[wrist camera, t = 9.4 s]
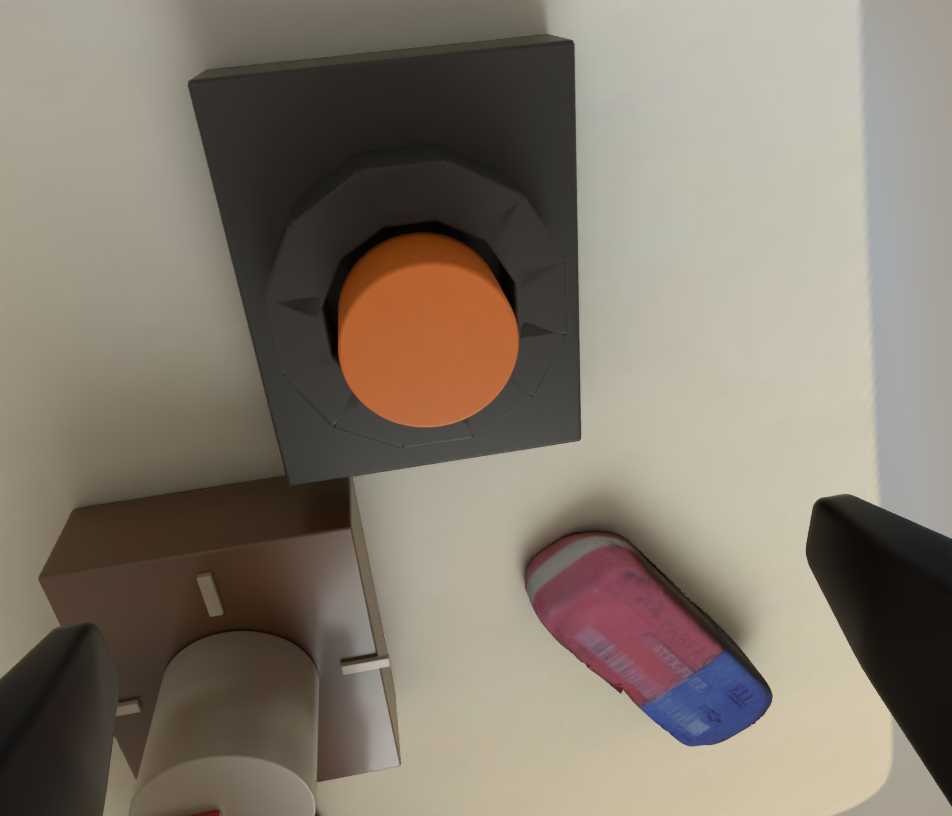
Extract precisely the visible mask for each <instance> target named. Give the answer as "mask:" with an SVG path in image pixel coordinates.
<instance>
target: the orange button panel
mask: <svg viewBox="0 0 952 816" xmlns="http://www.w3.org/2000/svg"><path fill="white" fill-rule="evenodd" d="M188 88H189V92H190V96H191V99H192V103H193V107H194V111H195V115H196V119H197V123H198V127H199V131H200V135H201V139H202V143H203V147H204V151H205V155H206V159H207V163H208V167H209V171H210V175H211V179H212V183H213V187H214V191H215V195H216V199H217V203H218V207H219V211H220V215H221V219H222V223H223V227H224V231H225V235H226V239H227V243H228V247H229V251H230V255H231V259H232V263H233V267H234V271H235V275H236V279H237V283H238V287H239V291H240V295H241V299H242V303H243V307H244V311H245V315H246V319H247V323H248V327H249V331H250V334H251V338H252V342H253V346H254V350H255V354H256V358H257V362H258V366H259V370H260V374H261V378H262V382H263V386H264V390H265V394H266V398H267V402H268V406H269V410H270V414H271V418H272V422H273V426H274V430H275V434H276V438H277V442H278V446H279V450H280V454H281V458H282V462H283V466H284V470H285V474H286V478H287V482H288V484H289V485H290V486H295V485H301V484H308V483H314V482H320V481H327V480H333V479H339V478H346V477H352V476H358V475H365V474H371V473H378V472H384V471H390V470H397V469H403V468H409V467H416V466H422V465H428V464H435V463H441V462H448V461H454V460H460V459H467V458H473V457H479V456H486V455H492V454H498V453H505V452H511V451H517V450H524V449H530V448H537V447H543V446H549V445H556V444H562V443H568V442H575V441H579V440H580V439H581V401H580V343H579V285H578V227H577V169H576V111H575V53H574V42H573V41H572V40H570V39H565V38H561V37H557V36H553V35H549V34H544V35H535V36H525V37H515V38H506V39H496V40H487V41H477V42H468V43H458V44H449V45H439V46H429V47H420V48H410V49H401V50H391V51H382V52H372V53H363V54H353V55H343V56H334V57H324V58H315V59H305V60H296V61H286V62H277V63H267V64H257V65H248V66H238V67H229V68H219V69H210V70H205V71H204V72H202V73H201V74H199V75H198V76H196V77H194V78H193V79H191V80H190V81H188ZM416 232H428V233H437V234H442V235H446V236H448V237H451V238H454V239H456V240H458V241H460V242H462V243H464V244H466V245H467V246H469V247H470V248H472V249H473V250H474V251H475V252H477V253H478V254H479V255H480V256H481V257H482V258H483V260H484V261H485V262H486V263H487V264H488V266H489V267H490V269H491V271H492V272H493V274H494V276H495V278H496V280H497V281H498V283H499V285H500V287H501V289H502V291H503V293H504V295H505V296H506V298H507V300H508V302H509V304H510V306H511V308H512V310H513V313H514V315H515V318H516V322H517V326H518V333H519V349H518V355H517V360H516V363H515V367H514V369H513V371H512V374H511V376H510V378H509V380H508V381H507V383H506V385H505V386H504V388H503V389H502V390H501V392H500V393H499V394H498V395H497V397H495V398H494V399H493V400H492V401H491V402H490V403H489V404H488V405H487V406H486V407H484V408H483V409H482V410H480V411H479V412H477V413H475V414H474V415H472V416H470V417H468V418H466V419H464V420H462V421H459V422H456V423H453V424H449V425H444V426H439V427H412V426H406V425H402V424H398V423H395V422H392V421H390V420H387V419H385V418H383V417H381V416H379V415H377V414H376V413H374V412H373V411H372V410H370V409H369V408H367V407H366V406H365V405H364V404H363V403H362V402H361V401H360V400H359V399H358V398H357V397H356V396H355V394H354V393H353V392H352V390H351V389H350V387H349V386H348V384H347V382H346V380H345V378H344V375H343V373H342V370H341V366H340V362H339V355H338V303H339V297H340V292H341V289H342V286H343V283H344V281H345V279H346V277H347V275H348V273H349V272H350V270H351V269H352V267H353V266H354V264H355V263H356V262H357V261H358V260H359V259H360V258H361V257H362V256H363V255H364V254H365V253H366V252H367V251H368V250H370V249H371V248H373V247H374V246H376V245H377V244H379V243H381V242H383V241H385V240H387V239H389V238H392V237H395V236H398V235H402V234H407V233H416Z"/></svg>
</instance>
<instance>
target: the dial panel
mask: <svg viewBox="0 0 952 816" xmlns="http://www.w3.org/2000/svg"><path fill="white" fill-rule="evenodd" d="M39 582H40V584H41V586H42V588H43V590H44V592H45V594H46V596H47V598H48V600H49V602H50V604H51V606H52V608H53V611H54V613H55V615H56V617H57V619H58V621H59V623H60V625H61V626H66V625H71V624H77V623H83V622H91V623H94V624H95V625H96V626H97V627H98V628H99V630H100V632H101V634H102V636H103V638H104V640H105V643H106V645H107V647H108V649H109V651H110V653H111V656H112V658H113V660H114V662H115V664H116V667H117V669H118V673H119V680H120V687H119V696H118V704H117V712H116V720H115V728H114V736H115V738H116V740H117V742H118V744H119V746H120V748H121V750H122V752H123V754H124V756H125V758H126V761H127V763H128V765H129V767H130V769H131V771H132V773H133V775H134V777H135V779H136V781H137V777H138V773H139V769H140V765H141V761H142V757H143V753H144V749H145V745H146V741H147V738H148V734H149V730H150V726H151V722H152V718H153V714H154V710H155V706H156V702H157V698H158V694H159V690H160V686H161V682H162V679H163V675H164V672H165V670H166V668H167V666H168V665H169V663H170V662H171V661H172V659H173V658H174V657H175V656H176V655H177V654H178V653H179V652H181V651H182V650H183V649H184V648H186V647H187V646H189V645H191V644H192V643H194V642H196V641H198V640H200V639H203V638H205V637H208V636H211V635H215V634H219V633H224V632H232V631H255V632H261V633H267V634H271V635H275V636H278V637H280V638H283V639H285V640H287V641H289V642H291V643H293V644H295V645H296V646H298V647H299V648H300V649H302V650H303V651H304V652H305V653H306V654H307V655H308V656H309V658H310V659H311V660H312V662H313V663H314V665H315V667H316V669H317V672H318V676H319V714H318V750H317V782H321V781H326V780H331V779H336V778H341V777H346V776H352V775H357V774H362V773H367V772H372V771H377V770H382V769H388V768H393V767H398V766H400V765H401V758H400V745H399V733H398V720H397V708H396V695H395V689H394V684H393V679H392V674H391V669H390V659H389V655H388V654H387V649H386V644H385V639H384V634H383V629H382V624H381V619H380V614H379V609H378V604H377V599H376V594H375V589H374V584H373V579H372V574H371V569H370V564H369V559H368V554H367V549H366V544H365V539H364V534H363V529H362V523H361V518H360V513H359V508H358V503H357V498H356V493H355V488H354V483H353V478H352V477H346V478H339V479H333V480H327V481H320V482H314V483H308V484H301V485H295V486H290V485H289V484H288V482H287V478H286V476H285V477H278V478H272V479H266V480H259V481H253V482H246V483H240V484H233V485H227V486H221V487H214V488H208V489H201V490H195V491H189V492H182V493H176V494H169V495H163V496H156V497H150V498H144V499H137V500H131V501H124V502H118V503H112V504H105V505H99V506H92V507H86V508H79V509H74V510H73V511H72V512H71V514H70V516H69V518H68V520H67V522H66V524H65V526H64V528H63V530H62V532H61V534H60V536H59V538H58V540H57V542H56V544H55V546H54V548H53V550H52V552H51V554H50V556H49V558H48V560H47V562H46V564H45V566H44V568H43V570H42V572H41V574H40V576H39Z"/></svg>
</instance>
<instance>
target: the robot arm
mask: <svg viewBox="0 0 952 816" xmlns="http://www.w3.org/2000/svg"><path fill="white" fill-rule="evenodd" d="M806 556H807V560H808V564H809V566H810V568H811V570H812V572H813V574H814V576H815V578H816V580H817V582H818V584H819V586H820V588H821V590H822V592H823V594H824V596H825V598H826V600H827V602H828V603H829V605H830V607H831V609H832V611H833V613H834V615H835V617H836V619H837V621H838V623H839V625H840V627H841V629H842V631H843V633H844V635H845V637H846V639H847V641H848V643H849V645H850V647H851V649H852V650H853V652H854V654H855V656H856V658H857V660H858V661H859V663H860V665H861V667H862V669H863V670H864V672H865V673H866V675H867V677H868V678H869V680H870V682H871V683H872V685H873V686H874V688H875V689H876V691H877V692H878V694H879V696H880V697H881V699H882V700H883V702H884V703H885V705H886V706H887V708H888V709H889V711H890V712H891V714H892V716H893V717H894V719H895V720H896V722H897V723H898V725H899V726H900V728H901V729H902V731H903V732H904V734H905V735H906V737H907V739H908V740H909V741H910V743H911V745H912V746H913V748H914V749H915V751H916V752H917V754H918V755H919V757H920V758H921V760H922V762H923V763H924V765H925V766H926V768H927V769H928V771H929V772H930V774H931V775H932V777H933V779H934V780H935V782H936V783H937V785H938V786H939V788H940V789H941V790H942V792H943V794H944V795H945V797H946V798H947V800H948V802H949V803H950V805H951V806H952V539H951V538H949V537H946V536H944V535H942V534H940V533H937V532H935V531H933V530H930V529H928V528H926V527H924V526H921V525H919V524H917V523H914V522H912V521H910V520H908V519H905V518H903V517H901V516H899V515H896V514H894V513H892V512H889V511H887V510H885V509H883V508H880V507H878V506H876V505H873V504H871V503H869V502H867V501H864V500H862V499H860V498H857V497H855V496H853V495H849V494H842V495H836V496H830V497H824V498H820V499H819V500H817V501H816V502H815V504H814V506H813V509H812V515H811V520H810V526H809V532H808V537H807V543H806ZM119 687H120V680H119V673H118V669H117V667H116V664H115V662H114V660H113V658H112V656H111V653H110V651H109V649H108V647H107V645H106V643H105V640H104V638H103V636H102V634H101V632H100V630H99V628H98V627H97V626H96V625H95V624H94V623H91V622H83V623H77V624H71V625H66V626H61V627H58V628H56V629H54V630H53V631H51V632H50V633H49V634H48V635H47V636H46V637H45V638H44V639H43V640H42V641H41V642H39V643H38V644H37V645H36V646H35V647H34V648H33V649H32V650H31V651H30V652H29V653H28V654H27V655H26V656H25V657H24V658H22V659H21V660H20V661H19V662H18V663H17V664H16V665H15V666H14V667H13V668H12V669H11V670H10V671H9V672H8V673H7V674H5V675H4V676H3V677H2V678H1V679H0V816H103V810H104V804H105V797H106V791H107V783H108V775H109V767H110V759H111V751H112V744H113V736H114V728H115V720H116V712H117V704H118V696H119Z"/></svg>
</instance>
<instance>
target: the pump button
mask: <svg viewBox="0 0 952 816" xmlns="http://www.w3.org/2000/svg"><path fill="white" fill-rule="evenodd" d="M518 349H519V333H518V326H517V322H516V318H515V315H514V313H513V310H512V308H511V306H510V304H509V302H508V300H507V298H506V296H505V295H504V293H503V291H502V289H501V287H500V285H499V283H498V281H497V280H496V278H495V276H494V274H493V272H492V271H491V269H490V267H489V266H488V264H487V263H486V262H485V261H484V260H483V258H482V257H481V256H480V255H479V254H478V253H477V252H475V251H474V250H473V249H472V248H470V247H469V246H467V245H466V244H464V243H462V242H460V241H458V240H456V239H454V238H451V237H448V236H446V235H442V234H437V233H428V232H416V233H407V234H402V235H398V236H395V237H392V238H389V239H387V240H385V241H383V242H381V243H379V244H377V245H376V246H374V247H373V248H371V249H370V250H368V251H367V252H366V253H365V254H364V255H363V256H362V257H361V258H360V259H359V260H358V261H357V262H356V263H355V264H354V266H353V267H352V269H351V270H350V272H349V273H348V275H347V277H346V279H345V281H344V283H343V286H342V289H341V292H340V297H339V303H338V355H339V362H340V366H341V370H342V373H343V375H344V378H345V380H346V382H347V384H348V386H349V387H350V389H351V390H352V392H353V393H354V394H355V396H356V397H357V398H358V399H359V400H360V401H361V402H362V403H363V404H364V405H365V406H366V407H367V408H369V409H370V410H372V411H373V412H374V413H376V414H377V415H379V416H381V417H383V418H385V419H387V420H390V421H392V422H395V423H398V424H402V425H406V426H412V427H439V426H444V425H449V424H453V423H456V422H459V421H462V420H464V419H466V418H468V417H470V416H472V415H474V414H475V413H477V412H479V411H480V410H482V409H483V408H484V407H486V406H487V405H488V404H489V403H490V402H491V401H492V400H493V399H494V398H495V397H497V395H498V394H499V393H500V392H501V390H502V389H503V388H504V386H505V385H506V383H507V381H508V380H509V378H510V376H511V374H512V371H513V369H514V367H515V363H516V360H517V355H518Z"/></svg>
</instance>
